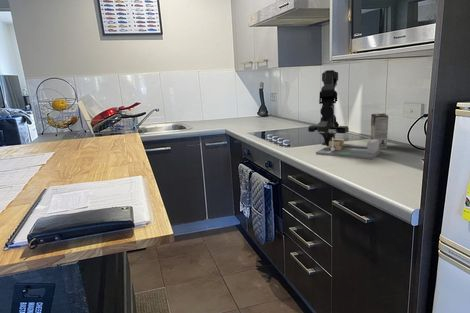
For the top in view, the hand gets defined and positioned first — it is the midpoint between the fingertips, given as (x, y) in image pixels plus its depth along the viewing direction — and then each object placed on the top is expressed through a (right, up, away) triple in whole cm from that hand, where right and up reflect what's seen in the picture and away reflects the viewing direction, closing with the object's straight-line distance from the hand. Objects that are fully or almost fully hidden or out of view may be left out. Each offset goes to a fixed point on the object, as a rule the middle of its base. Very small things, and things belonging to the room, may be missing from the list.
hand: (327, 146), depth 165 cm
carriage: (+2, -2, -4) cm, 5 cm away
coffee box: (+25, 0, 0) cm, 25 cm away
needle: (0, -2, -9) cm, 10 cm away
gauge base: (+7, -3, -8) cm, 12 cm away
